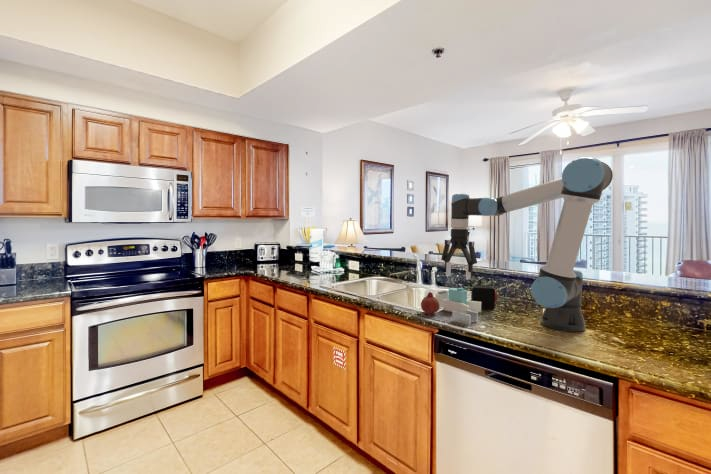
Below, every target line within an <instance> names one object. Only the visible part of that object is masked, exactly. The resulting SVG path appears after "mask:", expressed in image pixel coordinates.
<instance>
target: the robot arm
mask: <svg viewBox="0 0 711 474" xmlns="http://www.w3.org/2000/svg"><path fill="white" fill-rule="evenodd" d="M613 177H614V174H613V170H612V168H611V167H610V165H608V164H607V163H605V162H604V161H601V160H600V159H598V158H596V157H587V156H585V157H578V158H575V159H574V160H571V161H570V162H569V163H567V165H566V166H565V167H564V168H563V170H562V173H561V178H557V179H554V180H551V181H547V182H545V183H541V184H538V185H535V186H532V187H528V188H525V189H521V190H518V191H515V192H512V193H509V194H506V195H502V196H499V197H495V198H493V197H478V198H477V197H475V198H473V197H471V198H470V195H469V194H468V193H455V194H452V197H451V204H450V206H451V209H450V211H451V215H450V217H451V218H450V228H451V229H450V239H444V246H443V250H442V254H441V261H443V262H444V269H445V271H446V272H445V277H451V276H452V273H451V272H452V262H451V260H452V257H453V255H454V254H455V252H456V250H460V251H462V253H463V255H464V259H465V260H466V263H467V264H466V267H465V280H467V281H469V280H471V277H472V276H471V275H472V272H473V268H474V265H476V264H478V260H477V256H476V250H475V241H470V240H469V239H468V238H469V229H468V228H469V216H476V217H477V216H478V217H479V216H480V217H481V216H483V217H489V216H492V217H493V216H495V217H500V216H502V215H504V214H506V213H510V212H513V211H518V210H521V209H524V208H529V207H532V206H535V205H540V204H545V203H548V202H551V201H555V200H559V199H563V204H562V207H561V211H560V214H559V218H558V221H557V225H556V229H555V232H554V236H553V240H552V242H551V246H550V250H549V253H548V258H547V261H546V263H545V264H544V265H541V266H540V269H539V272H538V276H537V278H535V280H534V281H533V283H532V285H531V288H530V292H531V296H532V297H533V300H534V301H535V302H536V303H537V304H538V305H540V306H541V307H544V310H543V312H542V315H541V320H540V321H541V322H540V323H541V325H543V326H544V327H547V328H550V329H553V330H556V331H561V332H567V333H568V332H569V333H570V332H571V333H578V332H583V331H585V330H586V321H585V317H584V315H583V312H582V297H583V296H582V295H583V294H582V293H583V281H584V278H583V277H584V276H583V273H582V271H580V270H578V269H577V270H574V268H575V267H576V266H575V265H576V261H577V258H578V255H579V252H580V248H581V246H582V242H583V238H584V235H585V232H586V228H587V226H588V221H589V220H590V219H589V218H590V214H591V211H592V208H593V205H594V204H596V203H598V202H600V200H601V197H602V194H603V191H604V190H605V189H607V188H608V187H609V186H610V184H611V183H612V181H613ZM450 245H451V246H450Z"/></svg>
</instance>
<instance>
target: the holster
mask: <svg viewBox="0 0 711 474" xmlns="http://www.w3.org/2000/svg"><path fill="white" fill-rule="evenodd" d="M451 314H452V316H451V322H454V323H457V324H458V323H459V324H462V325H464V326H465V325H466V326H468V327H469V326H471V325H472V323H479V312H475V311H471V310H466V309H462V308H461V309H460V312H456V311H452V312H451Z"/></svg>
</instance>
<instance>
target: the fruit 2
mask: <svg viewBox="0 0 711 474" xmlns="http://www.w3.org/2000/svg"><path fill="white" fill-rule="evenodd" d="M420 308H421V310H422V311H423V312H424V313H425V314H427V315H434V314H436V313H437V312H438V311H439V310H440V308H439V302H438V300H437V298H436V296H434V295H433V292H431V291H428V293H427V295H426V296H424V297H423V298H422V299H421V302H420Z"/></svg>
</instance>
